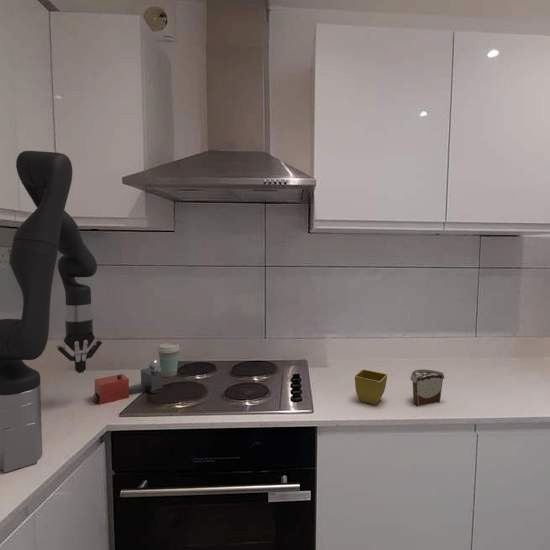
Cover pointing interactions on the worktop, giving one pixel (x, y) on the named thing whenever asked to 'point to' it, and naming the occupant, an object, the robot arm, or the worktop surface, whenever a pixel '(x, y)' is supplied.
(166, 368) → the coffee cup
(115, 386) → the red box with knob
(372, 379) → the flower pot
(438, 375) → the food container
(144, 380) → the grey bar with block
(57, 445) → the worktop surface
